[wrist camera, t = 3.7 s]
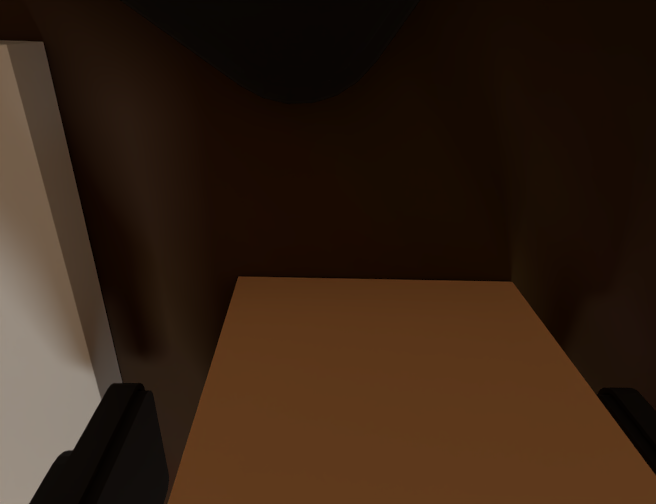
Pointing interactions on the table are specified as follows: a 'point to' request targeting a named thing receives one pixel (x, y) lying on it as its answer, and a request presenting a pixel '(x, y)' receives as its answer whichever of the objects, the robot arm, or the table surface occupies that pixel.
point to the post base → (43, 284)
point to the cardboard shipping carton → (399, 402)
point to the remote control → (283, 40)
